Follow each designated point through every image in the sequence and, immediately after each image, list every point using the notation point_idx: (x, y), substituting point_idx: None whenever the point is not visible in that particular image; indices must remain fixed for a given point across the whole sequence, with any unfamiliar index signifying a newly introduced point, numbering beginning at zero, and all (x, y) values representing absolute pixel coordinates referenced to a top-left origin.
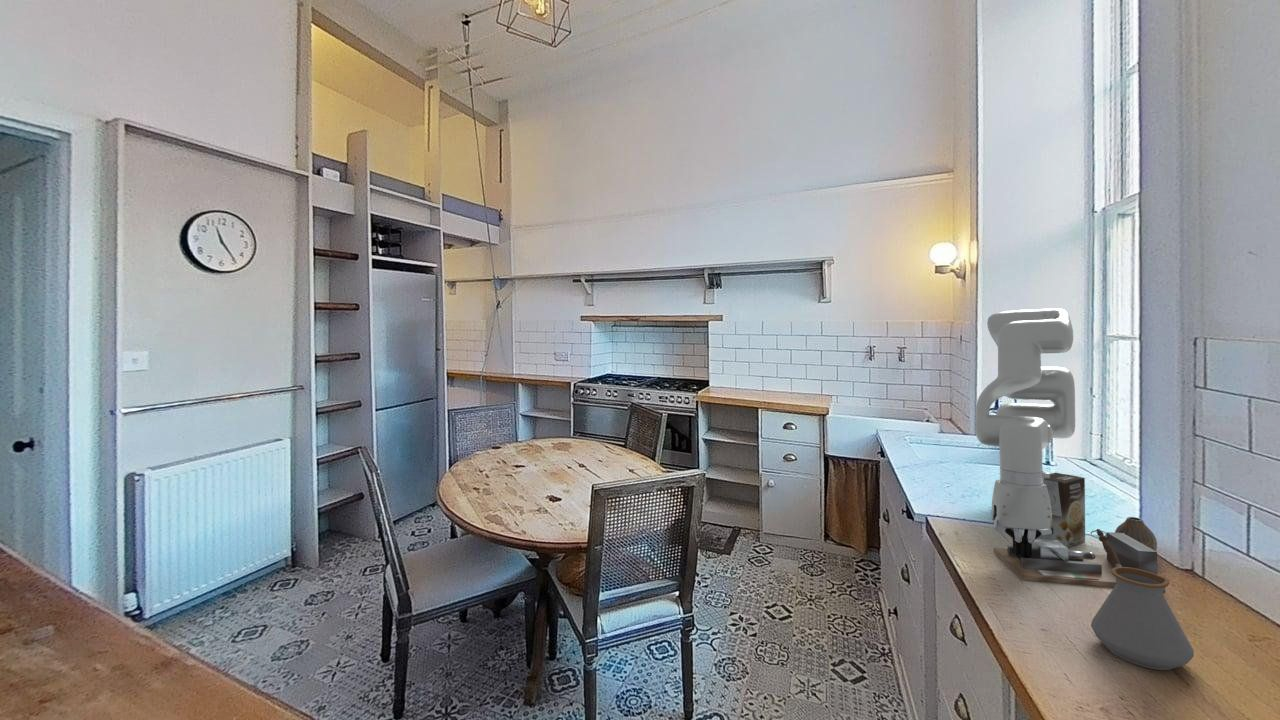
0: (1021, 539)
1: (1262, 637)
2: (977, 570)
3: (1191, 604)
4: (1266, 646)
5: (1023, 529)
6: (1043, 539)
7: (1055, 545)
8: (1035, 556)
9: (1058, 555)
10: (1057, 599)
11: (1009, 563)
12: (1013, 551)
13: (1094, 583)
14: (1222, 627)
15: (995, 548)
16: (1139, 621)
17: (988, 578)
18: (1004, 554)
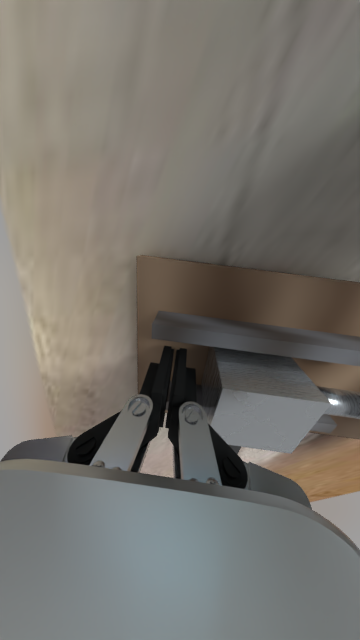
0: (148, 445)
1: (334, 494)
2: (67, 367)
3: (355, 456)
4: (314, 500)
5: (182, 453)
6: (275, 397)
7: (267, 438)
8: (207, 372)
9: (232, 447)
10: (162, 441)
11: (138, 361)
12: (150, 364)
13: None
14: (315, 484)
15: (140, 262)
16: None
17: (81, 394)
18: (148, 313)
